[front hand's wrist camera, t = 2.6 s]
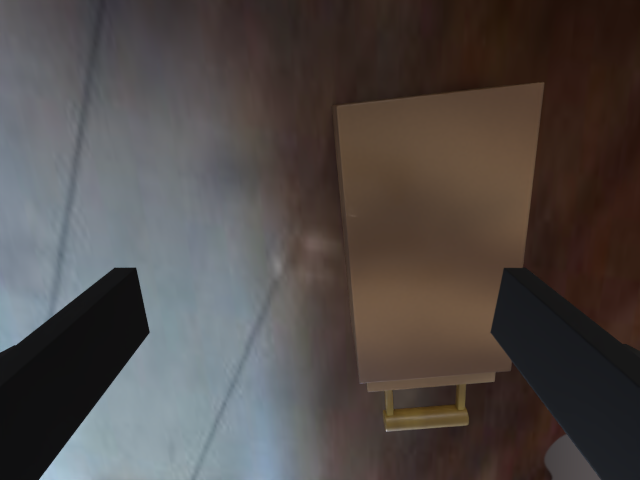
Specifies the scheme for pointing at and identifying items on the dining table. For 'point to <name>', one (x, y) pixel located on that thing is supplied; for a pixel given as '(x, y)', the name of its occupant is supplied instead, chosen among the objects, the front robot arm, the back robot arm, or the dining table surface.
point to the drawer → (430, 414)
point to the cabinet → (433, 224)
